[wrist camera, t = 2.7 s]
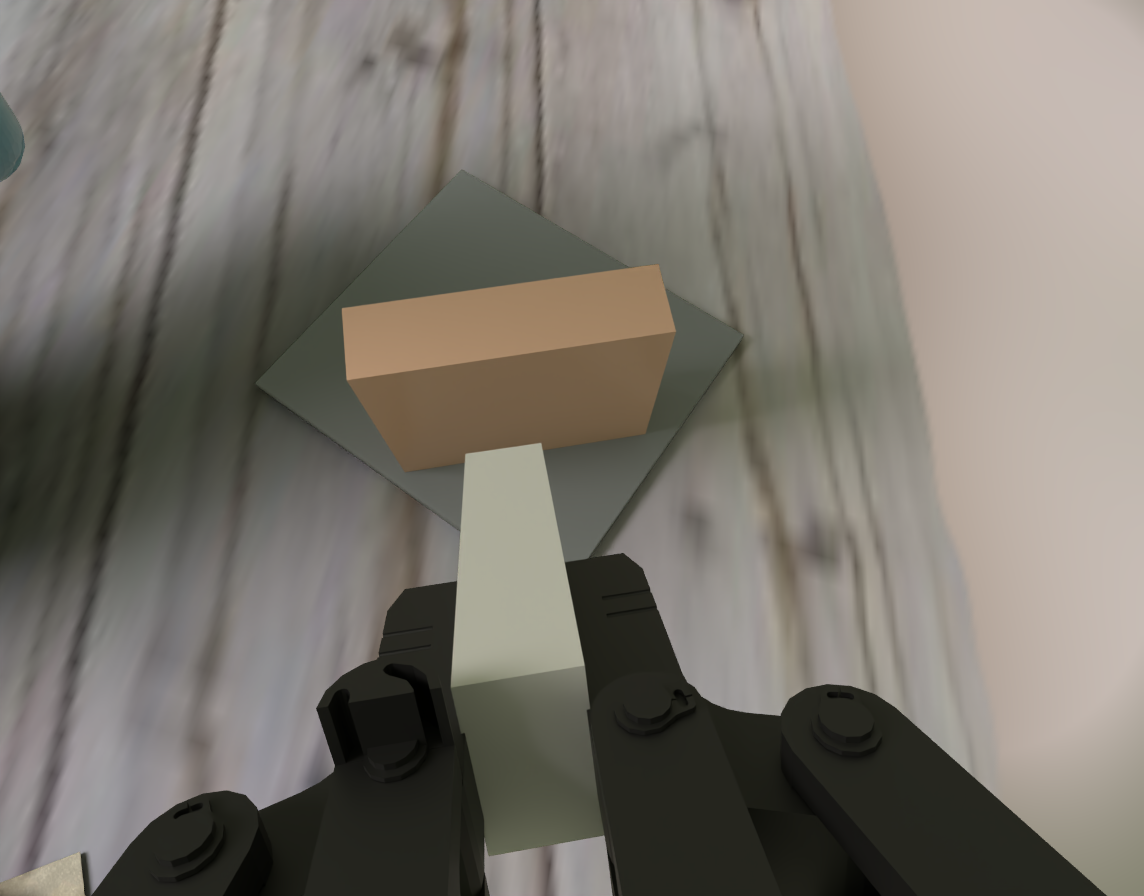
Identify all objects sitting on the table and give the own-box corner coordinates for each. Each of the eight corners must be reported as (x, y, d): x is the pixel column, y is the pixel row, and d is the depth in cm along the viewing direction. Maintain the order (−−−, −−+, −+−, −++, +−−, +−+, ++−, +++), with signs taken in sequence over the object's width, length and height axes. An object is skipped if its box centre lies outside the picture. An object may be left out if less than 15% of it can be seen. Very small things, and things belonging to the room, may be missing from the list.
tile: (645, 434, 35) (676, 331, 26) (404, 472, 34) (346, 380, 25) (632, 377, 36) (657, 259, 27) (399, 413, 35) (341, 303, 26)
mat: (259, 388, 36) (254, 382, 36) (463, 176, 42) (461, 169, 41) (558, 601, 33) (558, 599, 32) (741, 340, 38) (743, 335, 37)
